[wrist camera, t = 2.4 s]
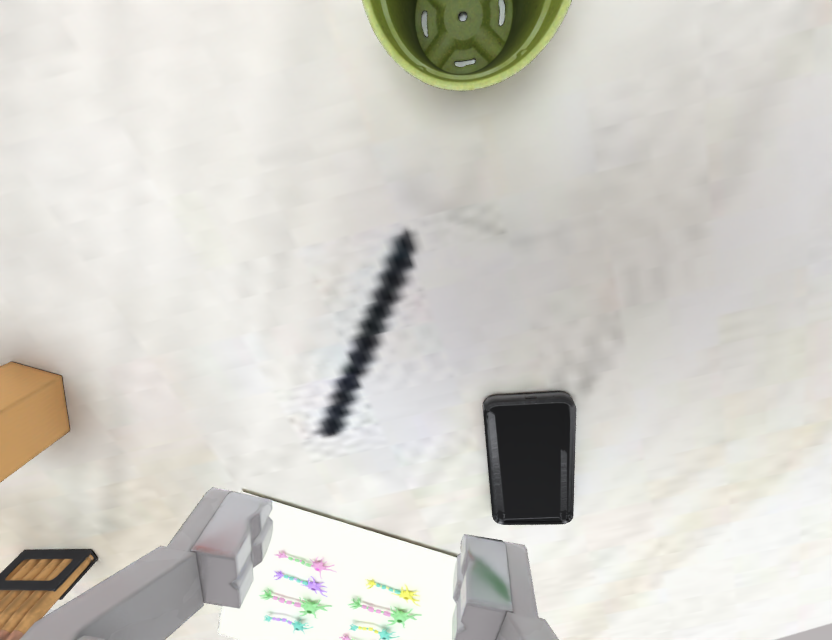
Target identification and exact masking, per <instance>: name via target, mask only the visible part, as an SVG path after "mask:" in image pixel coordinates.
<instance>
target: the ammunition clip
mask: <svg viewBox="0 0 832 640" xmlns="http://www.w3.org/2000/svg"><path fill="white" fill-rule="evenodd" d="M97 560H98V559H97V557H96V556H95V555H94V553H93V552H92V550H91V549H81V550H24V551H23V552H22V553H21V554H20V555H19V556H18V557H17V558H16V559H15V560H14V561H13V562H12V563H11V564H10V565H8V566H7V567H6V568H5V569H4V570H3V571H2V572H1V573H0V640H20V639H21V638H22V636H23V635H24V634H25V633H26V632H27V631H28V630H29V629H30V627H31V626H32V625H33V624H34V623H35V622H36V621H38V620H40V619H41V618H42V617H43V616H44V615H45V614H46V613H47V612H48V610H49V609H50V608H51V607H52V606H53V605H54V604H55V603H56V602H57V600H61V599H63V598H64V597H65V595H66V594H67V593H68V592H69V591H70V590H71V589H72V588H73V587H74V585H75V584H76V583H77V582H78V581H79V580H80V579H81V578H82V577H83V575H84V574H85V573H86V572H87V571H88V570H89V569H90V568H91V567H92V565H93V564H94V563H95V562H96V561H97Z"/></svg>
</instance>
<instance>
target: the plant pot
mask: <svg viewBox="0 0 832 640" xmlns="http://www.w3.org/2000/svg"><path fill="white" fill-rule="evenodd" d="M498 1H499V0H362V3H363V6H364V9H365V12H366V15H367V18H368V20H369V22H370V24H371V27H372V29H373V31H374V33H375V34H376V36H377V38H378V40H379V41H380V43H381V45H382V46H383V47H384V49H385V50H386V52H387V53H388V54H389V55H390V56H391V57H392V59H393V60H394V61H395V62H396V63H397V64H398V65H399V66H400V67H402V68H403V69H404V70H405V71H406V72H407V73H409V74H410V75H412V76H413V77H415V78H417V79H418V80H420V81H422V82H424V83H426V84H428V85H431V86H434V87H437V88H441V89H446V90H454V91H468V90H476V89H481V88H485V87H489V86H492V85H494V84H497V83H499V82H502V81H504V80H506V79H508V78H509V77H511V76H513V75H515V74H516V73H518V72H519V71H520V70H522V69H523V68H524V67H525V66H527V65H528V64H529V63H530V62H531V61H532V60H533V59H534V58H535V57H536V56H537V55H538V54H539V53H540V52H541V51H542V50H543V49H544V48H545V46H546V45H547V44H548V43H549V41H550V40H551V39H552V38H553V36H554V35H555V33H556V32H557V30H558V28H559V27H560V25H561V23H562V21H563V19H564V17H565V16H566V14H567V11H568V9H569V7H570V4H571V2H572V0H504V2H505V7H506V8H505V21H504V24H503V25H502V26H499V12H500V11H499V4H498ZM423 11H427V29H428V32H427V33H428V37H426V36H425V35H424V32H423V29H422V24H421V15H422V13H423ZM461 12H465V13H467V19H466V20H465V21H460V20H459V18H458V15H459V14H460V13H461ZM472 58H475V59H476V61H475V63H474V64H473V65H472V64H471V65H466V66H464V67H457V66H455V64H454V62H455V61H465V60H470V59H472Z"/></svg>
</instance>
